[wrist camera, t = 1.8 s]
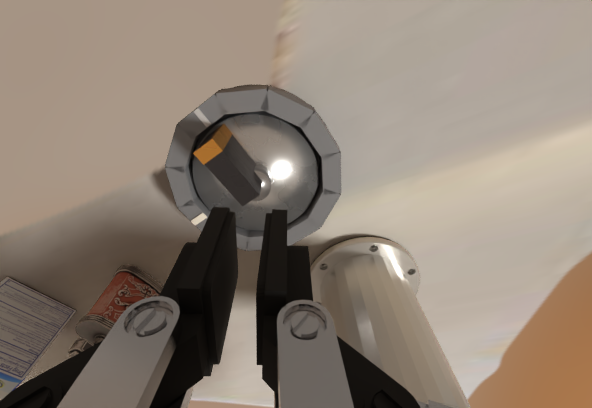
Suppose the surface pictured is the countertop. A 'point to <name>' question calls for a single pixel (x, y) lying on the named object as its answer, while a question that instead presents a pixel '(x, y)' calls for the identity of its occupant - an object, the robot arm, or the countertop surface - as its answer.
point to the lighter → (113, 305)
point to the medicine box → (26, 330)
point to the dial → (255, 168)
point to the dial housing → (255, 101)
